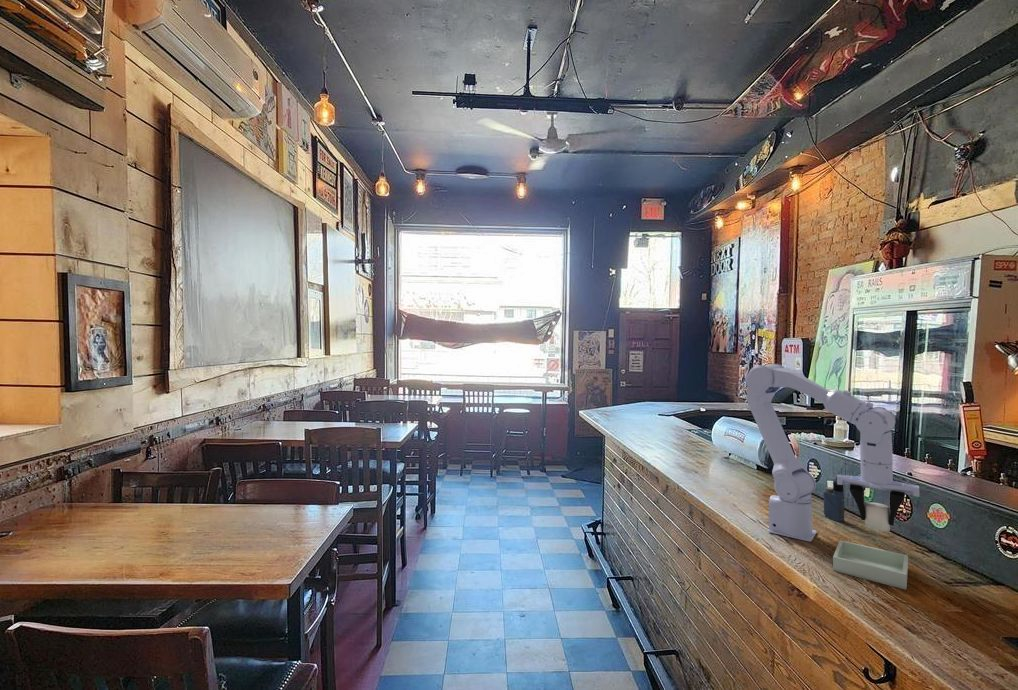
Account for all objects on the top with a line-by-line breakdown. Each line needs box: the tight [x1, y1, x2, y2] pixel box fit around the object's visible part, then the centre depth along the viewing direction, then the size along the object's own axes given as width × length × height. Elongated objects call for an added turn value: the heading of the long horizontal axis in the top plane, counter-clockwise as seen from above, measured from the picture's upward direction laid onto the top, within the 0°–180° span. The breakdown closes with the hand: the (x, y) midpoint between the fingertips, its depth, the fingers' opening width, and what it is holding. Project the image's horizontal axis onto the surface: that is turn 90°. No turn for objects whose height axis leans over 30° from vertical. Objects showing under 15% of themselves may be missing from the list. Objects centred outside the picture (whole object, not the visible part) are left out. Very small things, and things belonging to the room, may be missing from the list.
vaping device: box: [823, 476, 845, 523], centre depth 128 cm, size 3×5×12 cm, turn 16°
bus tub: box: [832, 539, 909, 591], centre depth 99 cm, size 12×11×3 cm
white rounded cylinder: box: [864, 501, 891, 533], centre depth 105 cm, size 4×4×5 cm
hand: (877, 521), depth 104 cm, fingers closed on white rounded cylinder, 4 cm apart
